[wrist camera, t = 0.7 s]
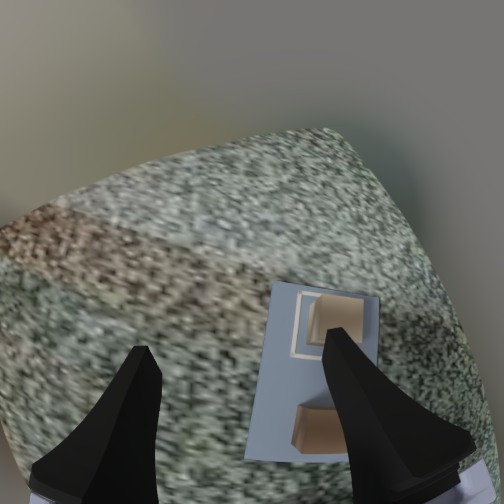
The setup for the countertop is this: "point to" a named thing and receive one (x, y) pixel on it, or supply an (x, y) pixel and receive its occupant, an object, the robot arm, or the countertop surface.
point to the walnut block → (318, 431)
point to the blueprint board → (296, 372)
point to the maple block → (334, 318)
